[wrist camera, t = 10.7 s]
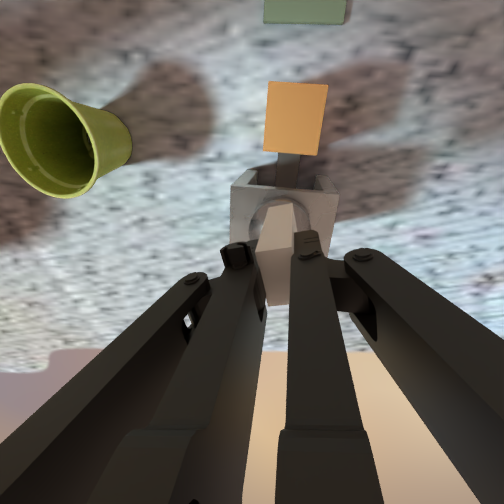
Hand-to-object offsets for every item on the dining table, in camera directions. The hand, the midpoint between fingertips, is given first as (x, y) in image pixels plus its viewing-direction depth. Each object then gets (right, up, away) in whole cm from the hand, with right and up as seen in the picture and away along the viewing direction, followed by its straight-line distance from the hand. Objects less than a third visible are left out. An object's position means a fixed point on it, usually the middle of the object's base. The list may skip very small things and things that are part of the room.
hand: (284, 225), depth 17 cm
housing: (+2, +5, +14) cm, 15 cm away
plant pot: (-19, +11, +14) cm, 26 cm away
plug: (+2, +7, +13) cm, 15 cm away
